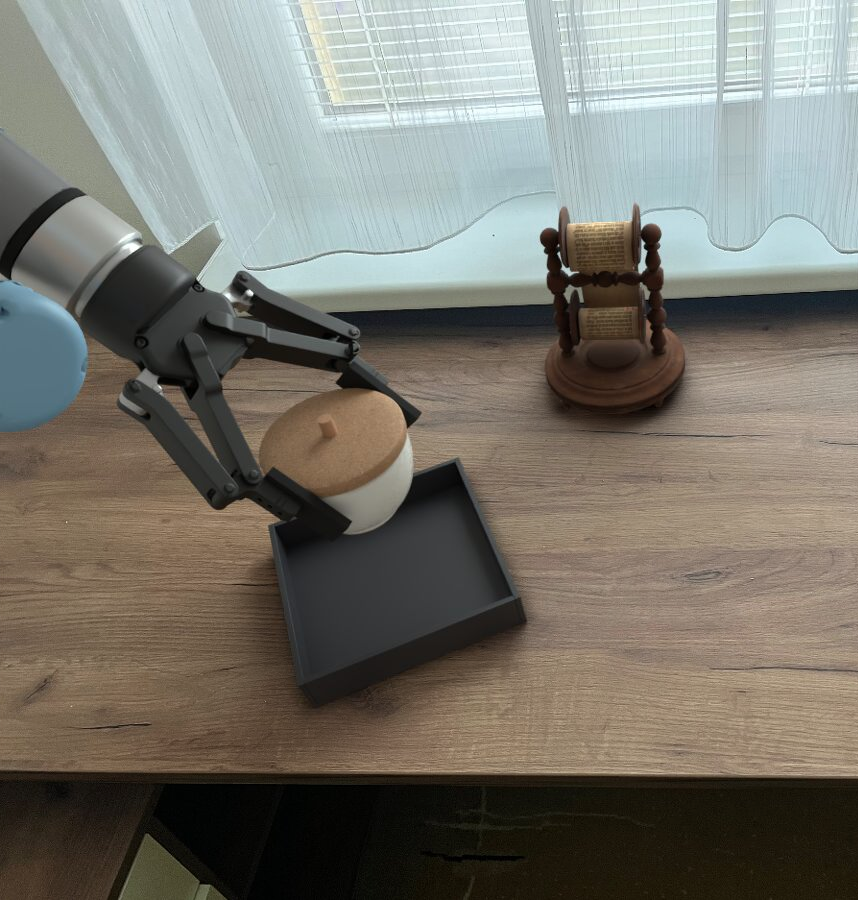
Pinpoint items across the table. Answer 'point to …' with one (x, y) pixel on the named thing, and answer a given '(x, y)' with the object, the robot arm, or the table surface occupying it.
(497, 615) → the tray
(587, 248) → the scroll
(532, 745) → the table surface
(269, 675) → the table surface
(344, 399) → the trinket box
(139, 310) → the robot arm
